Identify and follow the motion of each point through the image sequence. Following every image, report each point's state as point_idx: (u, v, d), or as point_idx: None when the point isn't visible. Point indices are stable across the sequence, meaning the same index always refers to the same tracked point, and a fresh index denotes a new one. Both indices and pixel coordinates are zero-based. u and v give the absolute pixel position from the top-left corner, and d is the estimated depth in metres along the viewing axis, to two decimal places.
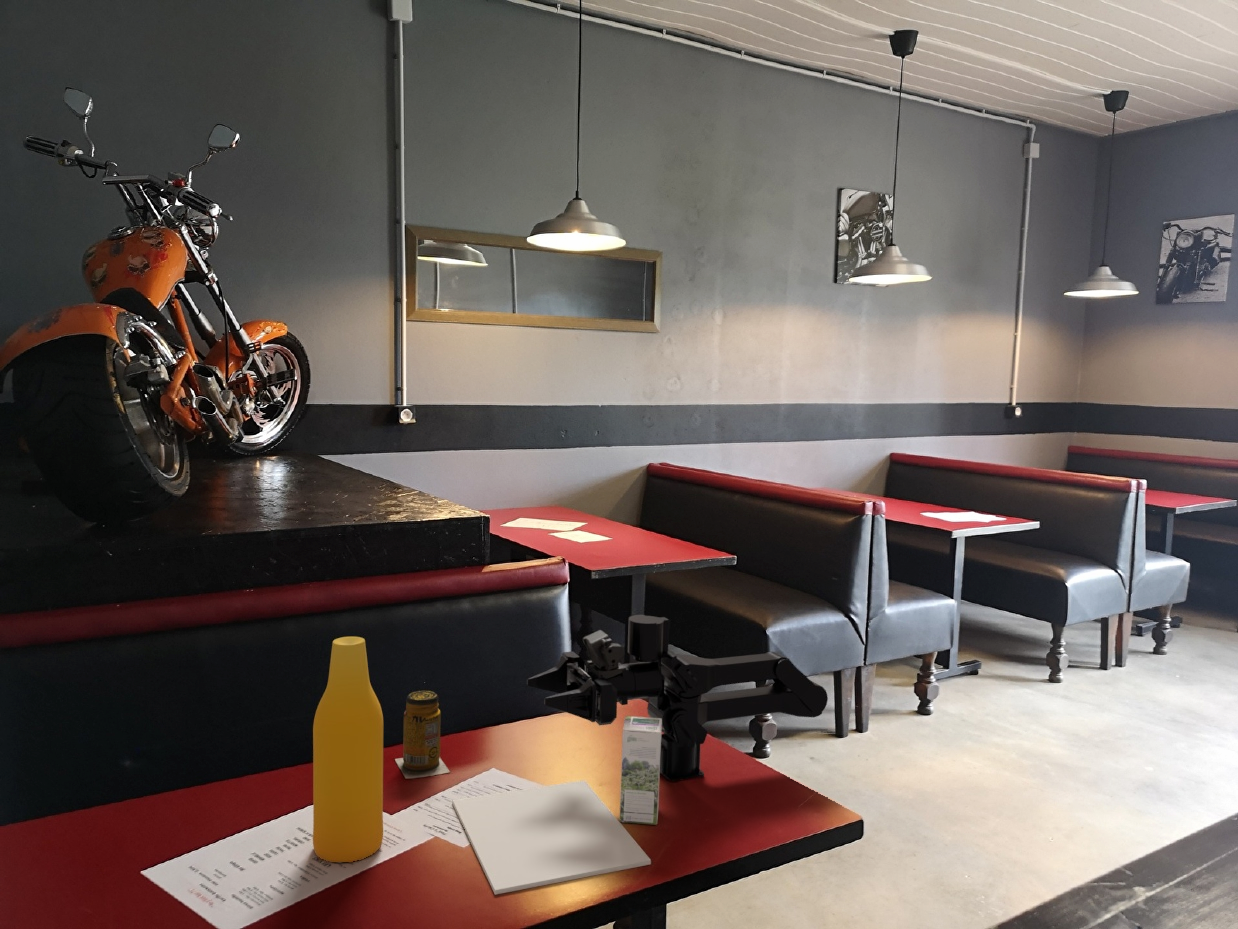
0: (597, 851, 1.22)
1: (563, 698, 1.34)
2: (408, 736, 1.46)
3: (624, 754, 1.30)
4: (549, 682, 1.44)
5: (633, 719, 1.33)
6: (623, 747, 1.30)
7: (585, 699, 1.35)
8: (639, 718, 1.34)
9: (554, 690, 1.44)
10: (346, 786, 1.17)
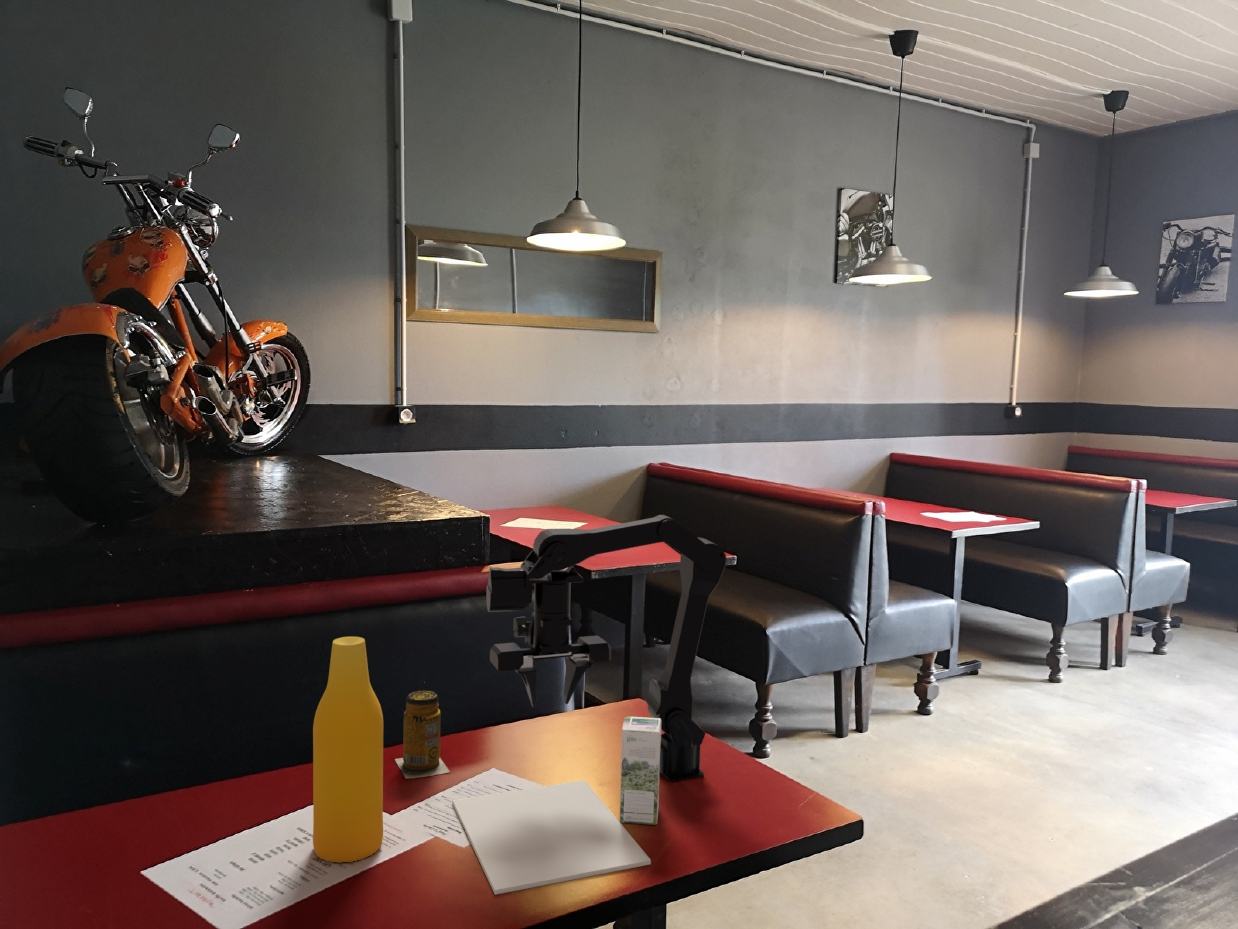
0: (597, 851, 1.22)
1: (527, 690, 1.41)
2: (408, 736, 1.46)
3: (624, 754, 1.30)
4: (568, 681, 1.43)
5: (632, 719, 1.33)
6: (623, 747, 1.30)
7: None
8: (639, 718, 1.34)
9: (571, 678, 1.41)
10: (346, 787, 1.17)
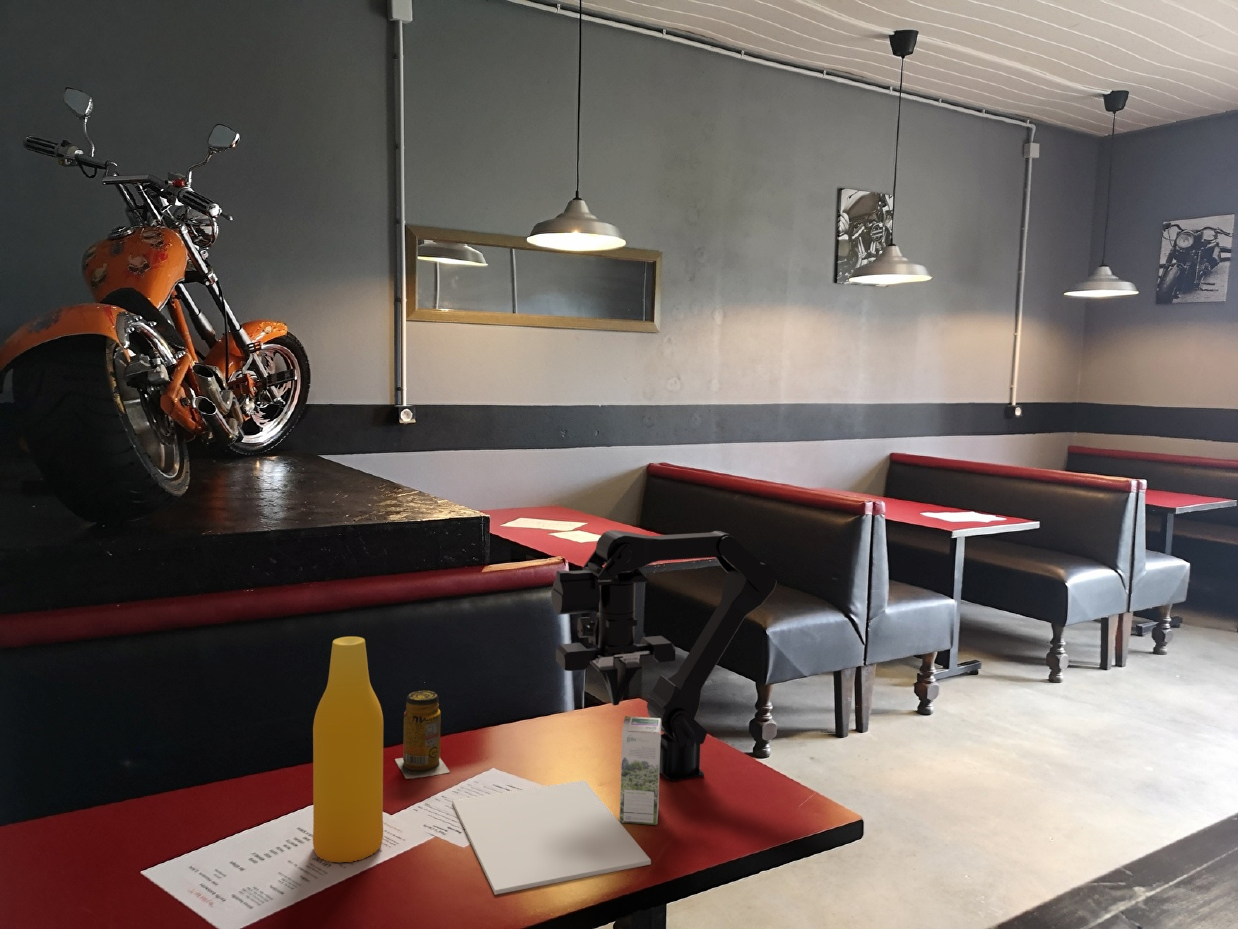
0: (597, 851, 1.22)
1: (607, 688, 1.44)
2: (408, 736, 1.46)
3: (624, 754, 1.30)
4: (618, 682, 1.43)
5: (632, 719, 1.33)
6: (622, 747, 1.30)
7: None
8: (639, 718, 1.34)
9: (622, 679, 1.42)
10: (346, 786, 1.17)
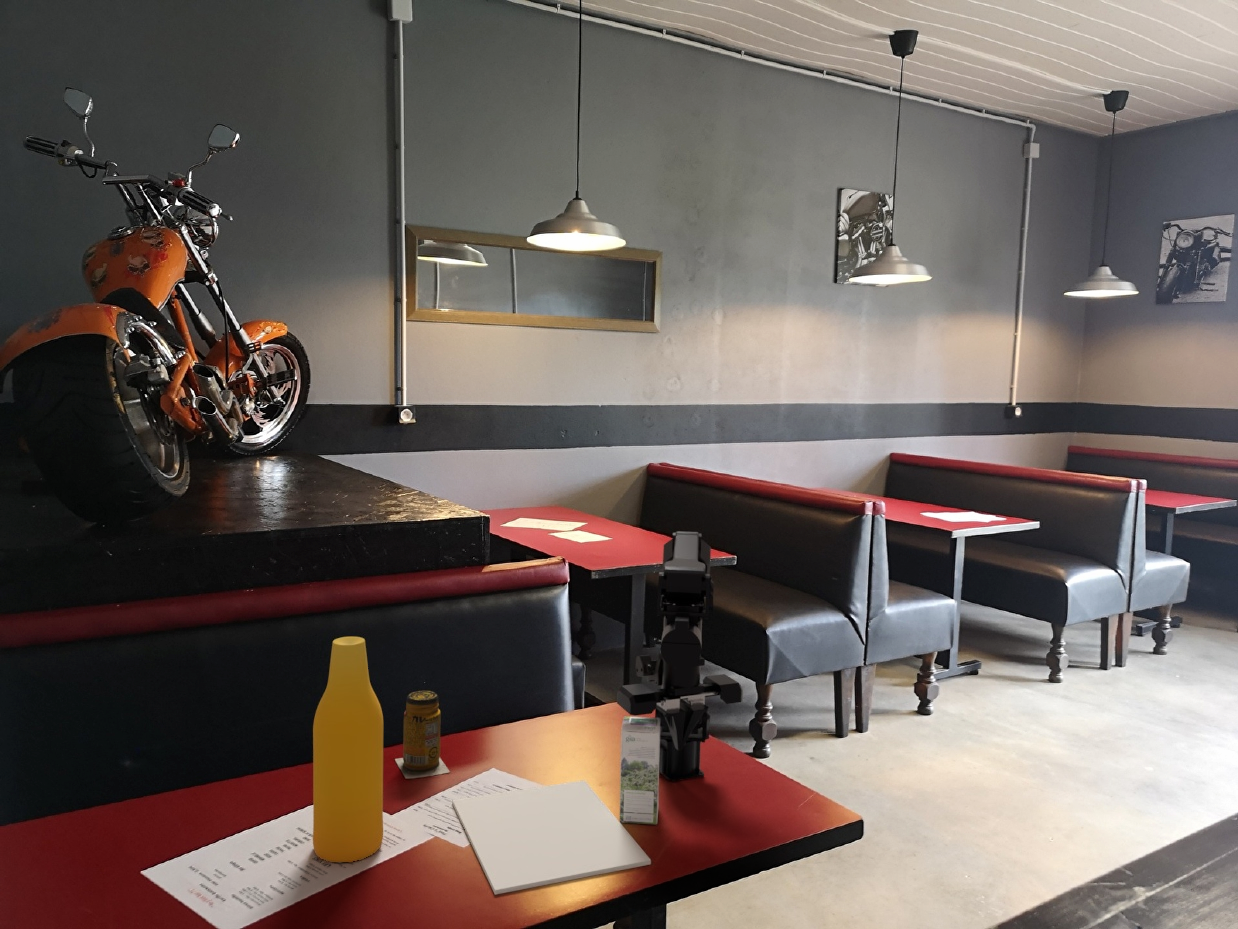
0: (597, 851, 1.22)
1: (671, 731, 1.35)
2: (408, 736, 1.46)
3: (623, 754, 1.30)
4: None
5: (631, 719, 1.33)
6: (622, 747, 1.30)
7: None
8: (638, 718, 1.34)
9: (687, 723, 1.33)
10: (346, 786, 1.17)
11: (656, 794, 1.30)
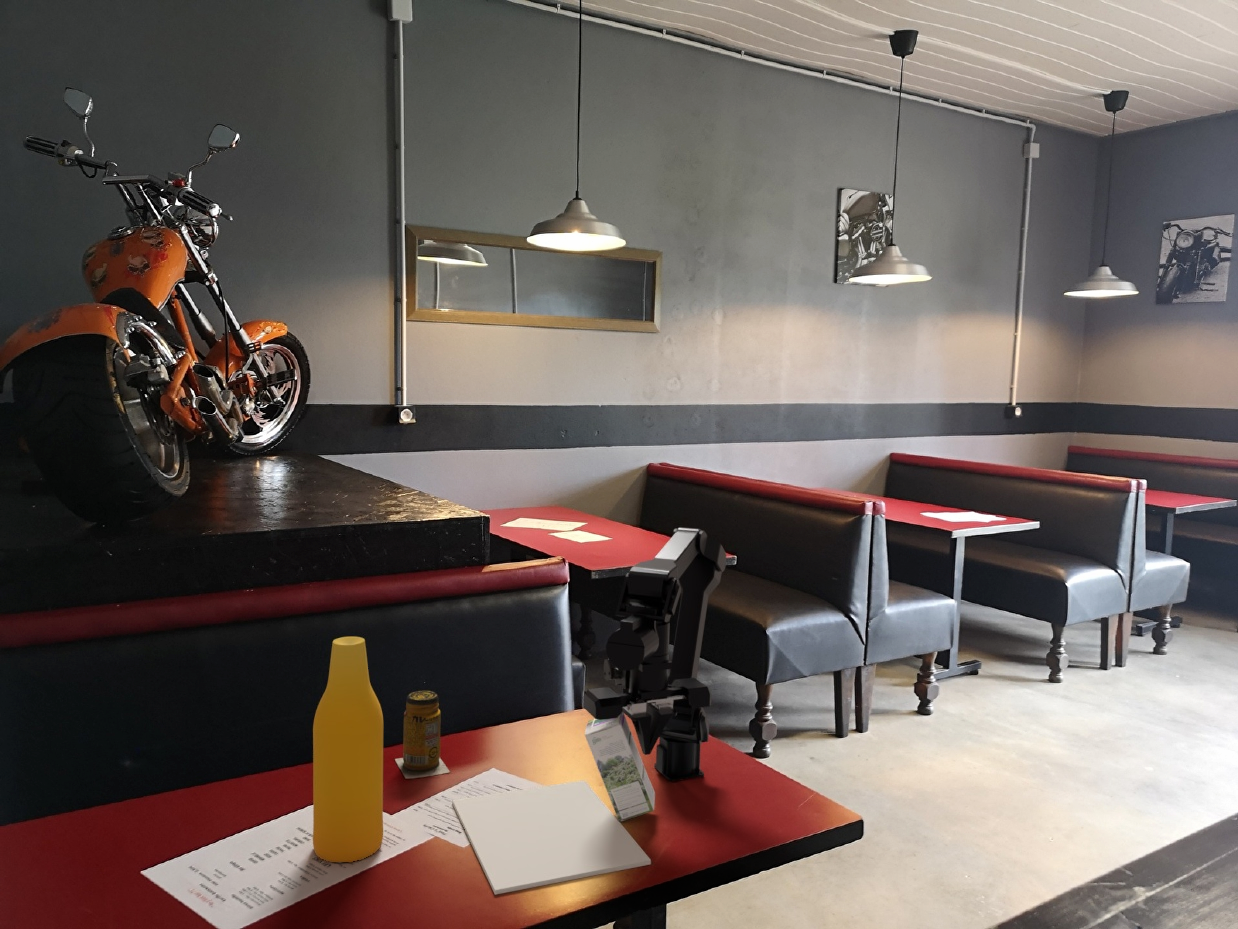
0: (597, 851, 1.22)
1: (638, 736, 1.32)
2: (408, 736, 1.46)
3: (596, 757, 1.30)
4: (650, 730, 1.32)
5: (595, 721, 1.33)
6: (592, 751, 1.30)
7: None
8: None
9: (655, 727, 1.31)
10: (346, 786, 1.17)
11: (641, 782, 1.30)
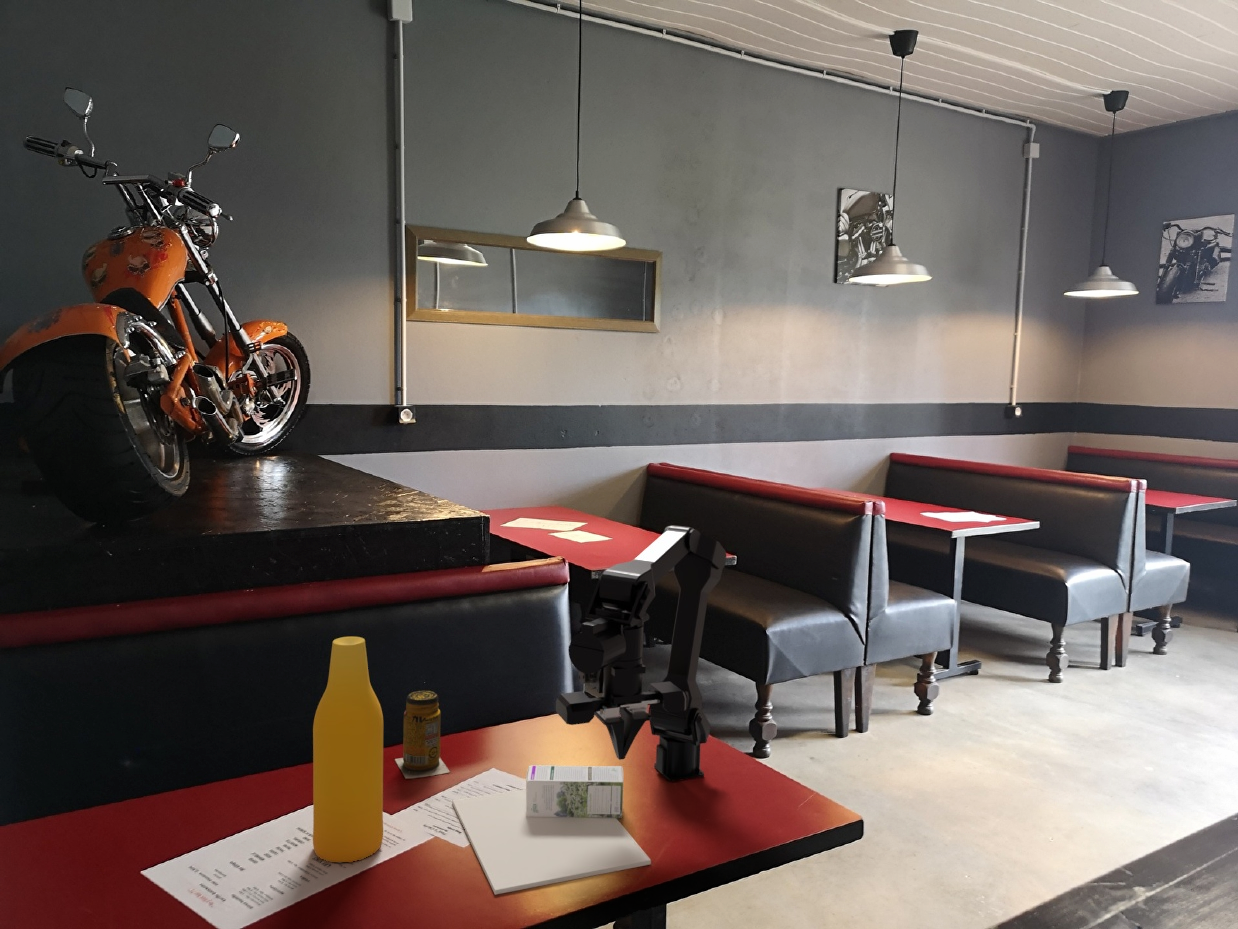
0: (597, 851, 1.22)
1: (612, 740, 1.31)
2: (408, 736, 1.46)
3: (551, 814, 1.31)
4: (624, 734, 1.31)
5: None
6: (544, 816, 1.31)
7: None
8: None
9: (628, 732, 1.29)
10: (346, 787, 1.17)
11: (591, 783, 1.30)
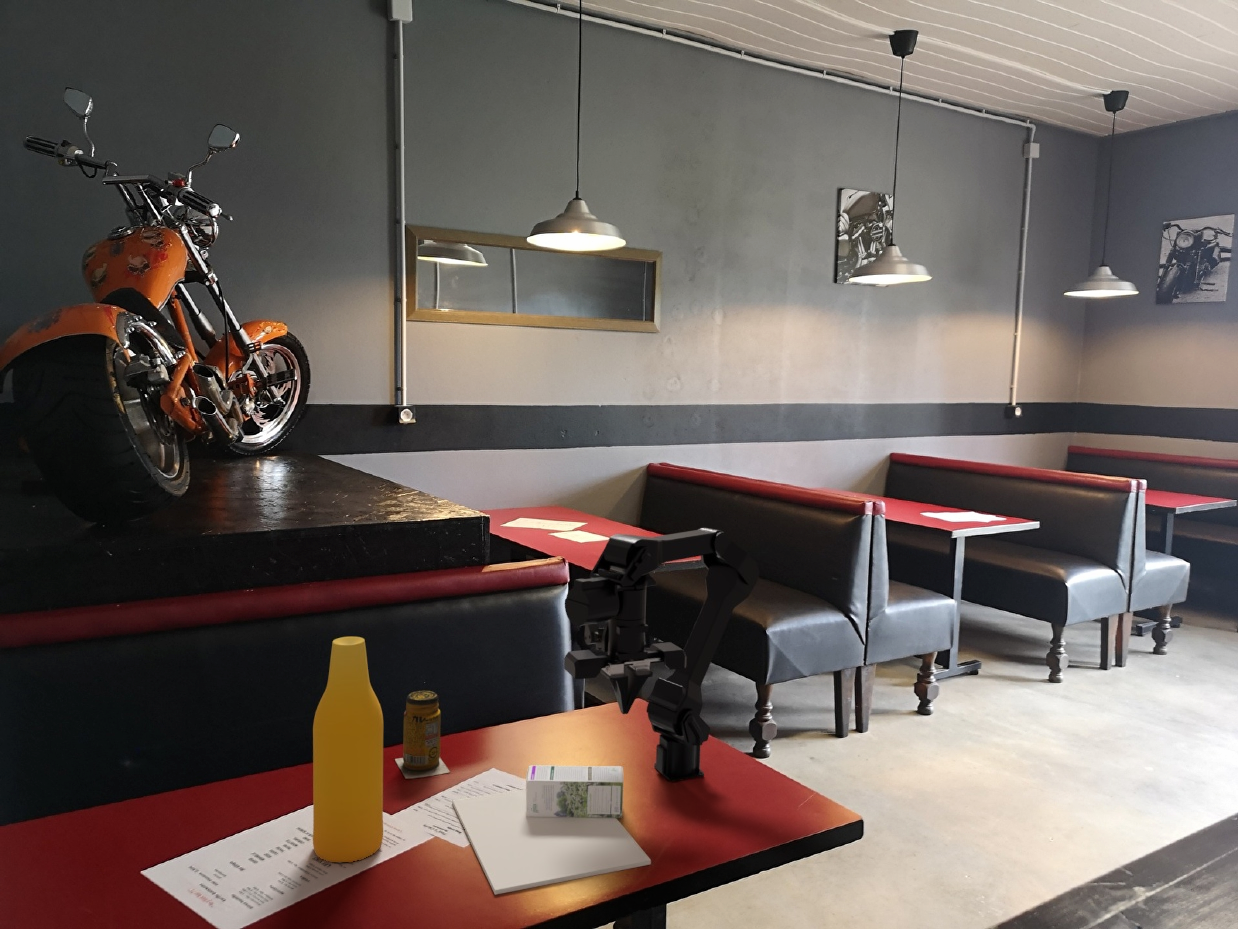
0: (597, 851, 1.22)
1: (616, 696, 1.39)
2: (408, 736, 1.46)
3: (551, 814, 1.31)
4: (627, 690, 1.39)
5: None
6: (544, 816, 1.31)
7: None
8: None
9: (632, 687, 1.38)
10: (346, 787, 1.17)
11: (591, 783, 1.30)
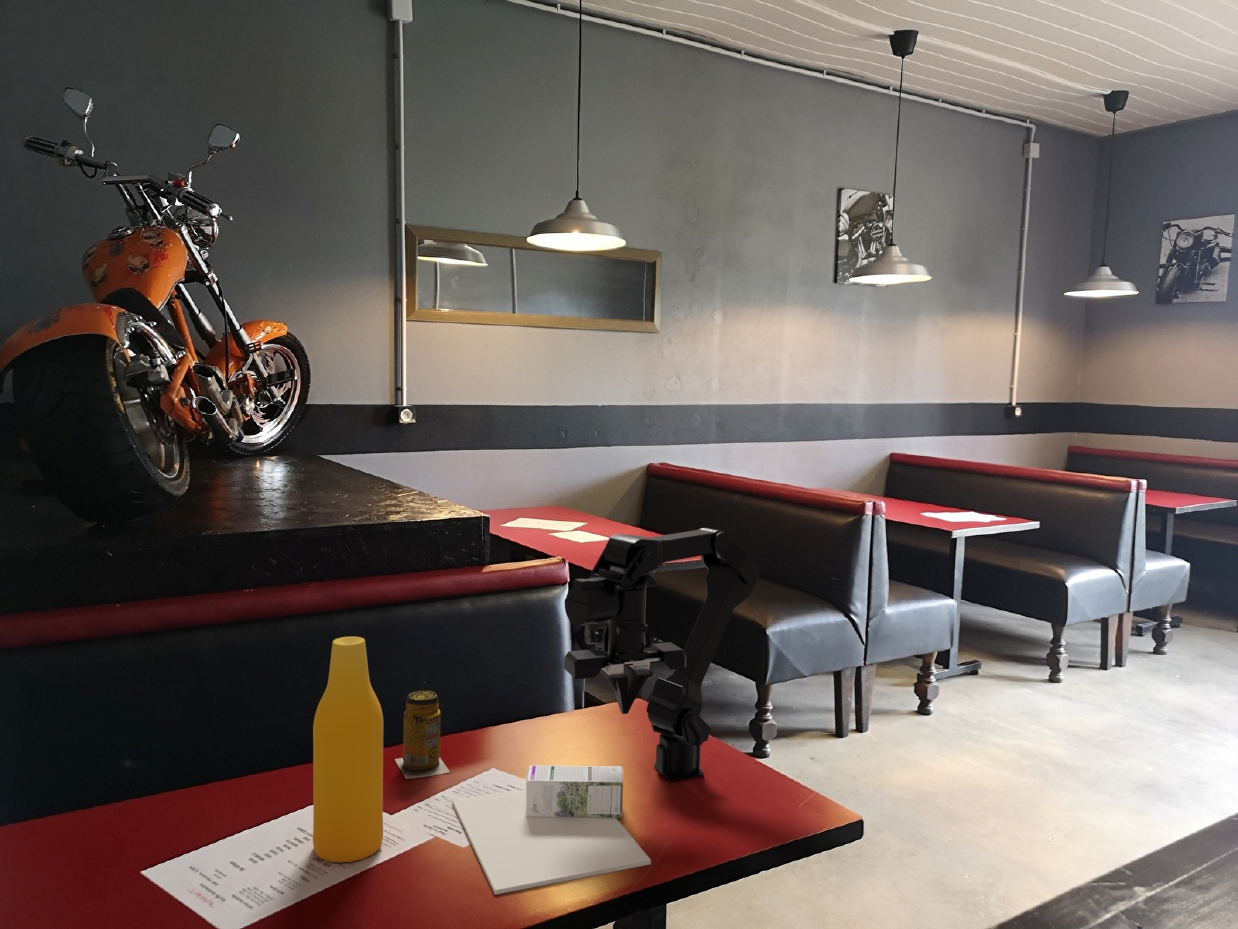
0: (597, 851, 1.22)
1: (616, 696, 1.39)
2: (408, 736, 1.46)
3: (551, 814, 1.31)
4: (627, 690, 1.39)
5: None
6: (544, 816, 1.31)
7: None
8: None
9: (632, 687, 1.38)
10: (346, 786, 1.17)
11: (591, 783, 1.30)
